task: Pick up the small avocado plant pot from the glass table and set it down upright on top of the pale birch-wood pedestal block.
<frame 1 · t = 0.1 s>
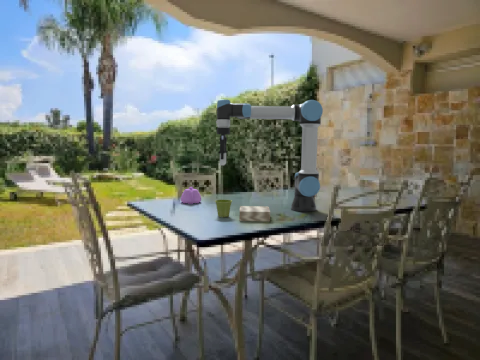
hand: (223, 164, 208), 28 cm above the table, tool pointing down, fingers open, 13 cm apart
plant pot: (223, 216, 199), on the table
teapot: (191, 202, 246), on the table
birch pedestal block: (254, 217, 196), on the table
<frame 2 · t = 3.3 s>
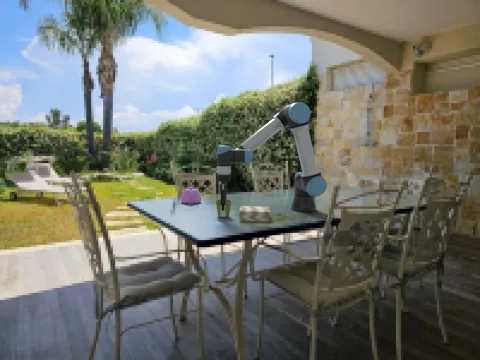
hand: (223, 214, 199), 1 cm above the table, tool pointing down, fingers closed on plant pot, 8 cm apart
plant pot: (223, 216, 199), on the table, touching gripper
everything else where it was.
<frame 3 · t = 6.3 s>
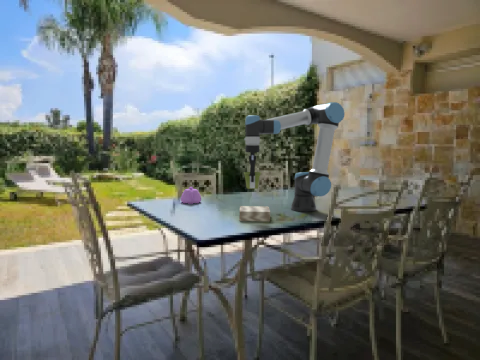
hand: (252, 187, 195), 17 cm above the table, tool pointing down, fingers closed on plant pot, 8 cm apart
plant pot: (252, 189, 195), point 16 cm above the table, touching gripper
everything else where it was.
when the fingers open (6 cm above the table, at t = 9.7 s): plant pot moves 3 cm, resting on birch pedestal block.
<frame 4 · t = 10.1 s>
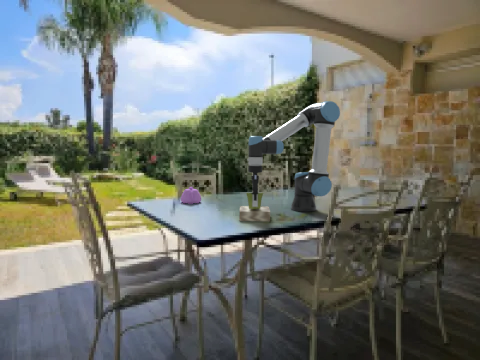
hand: (254, 204, 195), 7 cm above the table, tool pointing down, fingers open, 13 cm apart
plant pot: (254, 209, 192), point 5 cm above the table, touching birch pedestal block, gripper
everything else where it was.
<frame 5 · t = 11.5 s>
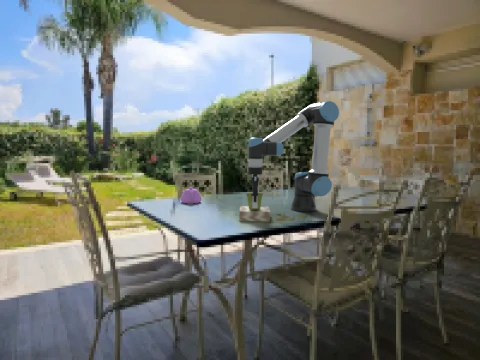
hand: (254, 206, 195), 7 cm above the table, tool pointing down, fingers open, 13 cm apart
nothing on the table moved.
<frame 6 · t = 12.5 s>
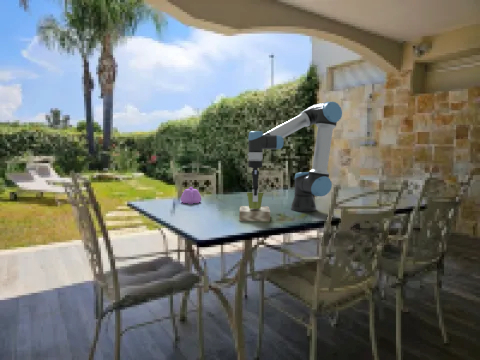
hand: (255, 199, 195), 10 cm above the table, tool pointing down, fingers open, 13 cm apart
nothing on the table moved.
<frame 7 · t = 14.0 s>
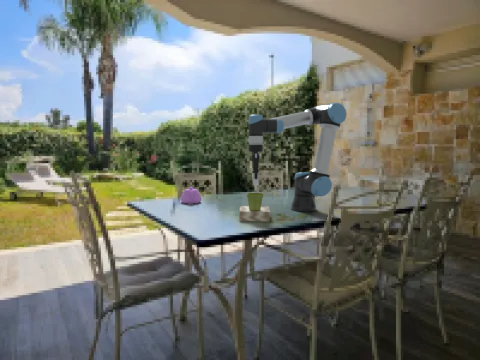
hand: (255, 183, 194), 19 cm above the table, tool pointing down, fingers open, 13 cm apart
plant pot: (254, 210, 192), point 5 cm above the table, touching birch pedestal block
everything else where it was.
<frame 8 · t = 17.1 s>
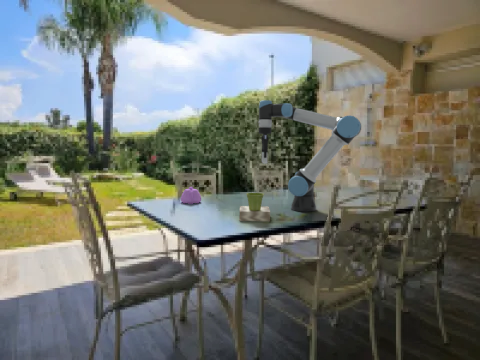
hand: (264, 163, 216), 29 cm above the table, tool pointing down, fingers open, 13 cm apart
nothing on the table moved.
at the end: plant pot inside the target area on the birch pedestal block (3.4 cm from its centre), point 4.8 cm above the birch pedestal block's base; plant pot tilted 0°; plant pot touching birch pedestal block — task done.
